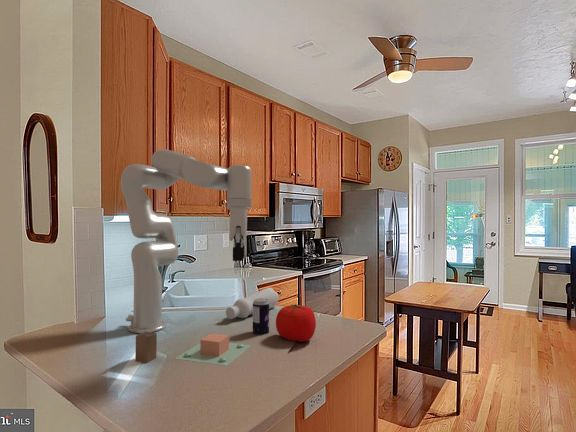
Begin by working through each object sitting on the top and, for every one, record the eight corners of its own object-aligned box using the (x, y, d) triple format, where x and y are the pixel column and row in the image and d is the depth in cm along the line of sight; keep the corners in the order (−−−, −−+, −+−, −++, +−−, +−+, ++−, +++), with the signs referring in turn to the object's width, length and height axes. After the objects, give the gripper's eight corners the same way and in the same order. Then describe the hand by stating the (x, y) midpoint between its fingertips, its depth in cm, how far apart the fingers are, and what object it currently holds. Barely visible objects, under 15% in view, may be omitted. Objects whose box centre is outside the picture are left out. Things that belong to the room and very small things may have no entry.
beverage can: (266, 338, 114) (266, 302, 115) (250, 336, 115) (250, 301, 116) (270, 332, 120) (271, 298, 120) (255, 331, 121) (255, 297, 121)
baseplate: (174, 362, 94) (174, 356, 94) (205, 342, 109) (205, 337, 109) (226, 369, 89) (226, 363, 89) (251, 348, 105) (251, 343, 105)
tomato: (321, 336, 116) (321, 302, 117) (306, 349, 104) (306, 311, 104) (287, 331, 122) (287, 298, 122) (269, 343, 109) (269, 306, 110)
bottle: (260, 297, 162) (217, 314, 136) (269, 282, 159) (227, 296, 133) (274, 310, 158) (232, 329, 132) (283, 295, 155) (243, 312, 129)
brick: (200, 353, 97) (200, 339, 98) (211, 346, 103) (211, 333, 103) (219, 356, 96) (219, 342, 96) (229, 349, 101) (229, 335, 101)
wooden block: (156, 361, 95) (157, 332, 95) (146, 367, 91) (147, 336, 91) (145, 359, 96) (145, 330, 96) (134, 365, 92) (135, 335, 92)
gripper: (229, 206, 116) (228, 256, 115) (225, 203, 99) (224, 262, 98) (251, 206, 117) (250, 256, 116) (251, 203, 99) (250, 262, 99)
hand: (238, 259), depth 107 cm, fingers open, 9 cm apart
